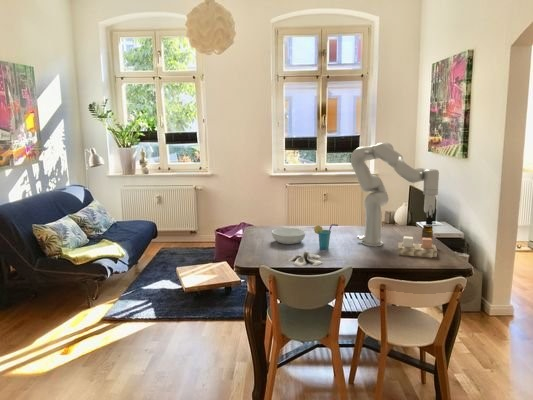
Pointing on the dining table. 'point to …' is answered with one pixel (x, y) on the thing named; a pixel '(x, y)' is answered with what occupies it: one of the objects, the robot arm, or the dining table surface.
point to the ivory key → (408, 241)
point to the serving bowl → (288, 235)
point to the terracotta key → (427, 243)
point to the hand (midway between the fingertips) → (428, 224)
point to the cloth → (305, 259)
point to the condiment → (427, 232)
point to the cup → (323, 236)
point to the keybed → (417, 250)
